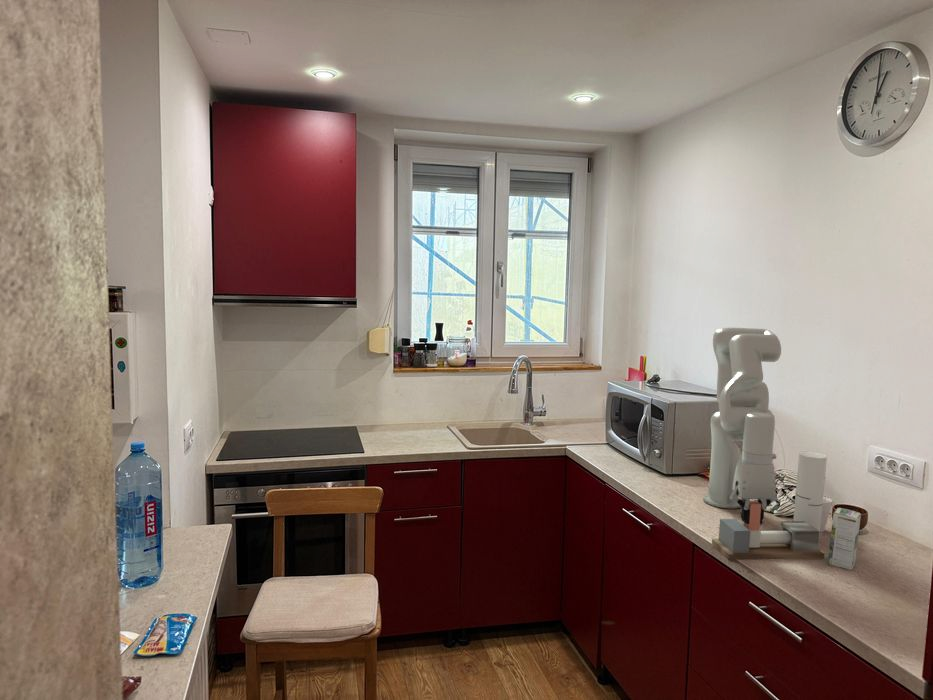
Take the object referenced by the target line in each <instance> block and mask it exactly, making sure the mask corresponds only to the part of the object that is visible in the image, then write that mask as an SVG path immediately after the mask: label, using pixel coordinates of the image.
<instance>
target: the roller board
mask: <svg viewBox="0 0 933 700" xmlns="http://www.w3.org/2000/svg"><path fill="white" fill-rule="evenodd" d="M779 531H790V532H791V533H792V541H791V544H760V547H749V553H732V552H731V551H730V550H729V549H728V548H727V547H726V546H724V545H723V544H722V543H721V542H720V541H719V538H712V539H711V545H712V546H714V548H716V550H718V551H719V553H721V554H722V555H723V556H724V557H725V558H726V559H727V560H728V561H729V560H730V561H731V560H740V561H741V560H824V559H825V553H824V552H823V551H821V550H820V549H819V542H820V537H819V532H820V531H818V530H817V529H815V528H814V527H812V526H811V525H809V524H808V523H806V522H805V521H793V520H792V521H789V520H787V521H786V520H785V521H780V528H779ZM820 533H821V532H820Z"/></svg>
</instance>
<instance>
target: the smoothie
mask: <svg viewBox="0 0 933 700" xmlns="http://www.w3.org/2000/svg"><path fill="white" fill-rule="evenodd" d="M832 505H833V500H832V499H831V498H829V497H827V496H826V497H825V496H823V505H822V515H821V526H820V533H823V532H826V527H827V523H828V519H829V516H830V515H829V514H830V513H831V512H830V511H831V507H832Z"/></svg>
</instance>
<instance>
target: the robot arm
mask: <svg viewBox="0 0 933 700" xmlns="http://www.w3.org/2000/svg"><path fill="white" fill-rule="evenodd" d="M712 347H713V352H714V356H715V358H716V363H717V379H716V381H717V382H716V401H717V403H718V411H716V412H714V413H713V414H712V416H711V417H710V423H709V424H710V433H711V435H710V436H711V447H710V448H711V452H710V453H711V454H710V464H709V465H710V466H709V467H710V468H709V480H708V484H707V488H708V493H705V494H704V495H703V498H702V499H703V501H704V502H705V503H706V504H708V505H710V506H713V507H715V508H722V509H733V510H734V509H739V508H740V519H741V521H742V522H743V523H744V522H745V523H746V524H749V520H750V510H749V509H748V508H749V503H750V500H756V501H758V502H759V503H760V504H761V515H760V525H762V524H763V522H764V521H763V520H764V518H765V517H764V516H765V511H766V510H767V508H768V507H769V505H771V504H772V503H774V502H775V501H777V500H778V498H779V497H778V496H777V493H776V472H775V467H774V466H775V465H774V463H773V460H776V459H777V454H776V453H774V452H773V450H774V438H775V425H776V422H775V421H776V420H775V415H774V414H773V412H772V410H770V407H769V406H770V405H769V404H770V403H769V402H770V394H769V393H770V391H769V388H768V385H767V384H766V383H765V382H764V371H763V364H762V362H765V363H766V362H767V363H775V362H777V361H779V360H780V359H781V354H782V346H781V342H780V339H779V338H778V336H777V335H776V334H775V333H774V332H772V331H771V330H770V329H767V328H752V327H751V328H749V327H747V328H745V327H722V328H718V329H717V330H715V331H714V333H713V338H712ZM735 441H742V450H741V449H740V447H738V445H737V444H736V443H735Z"/></svg>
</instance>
